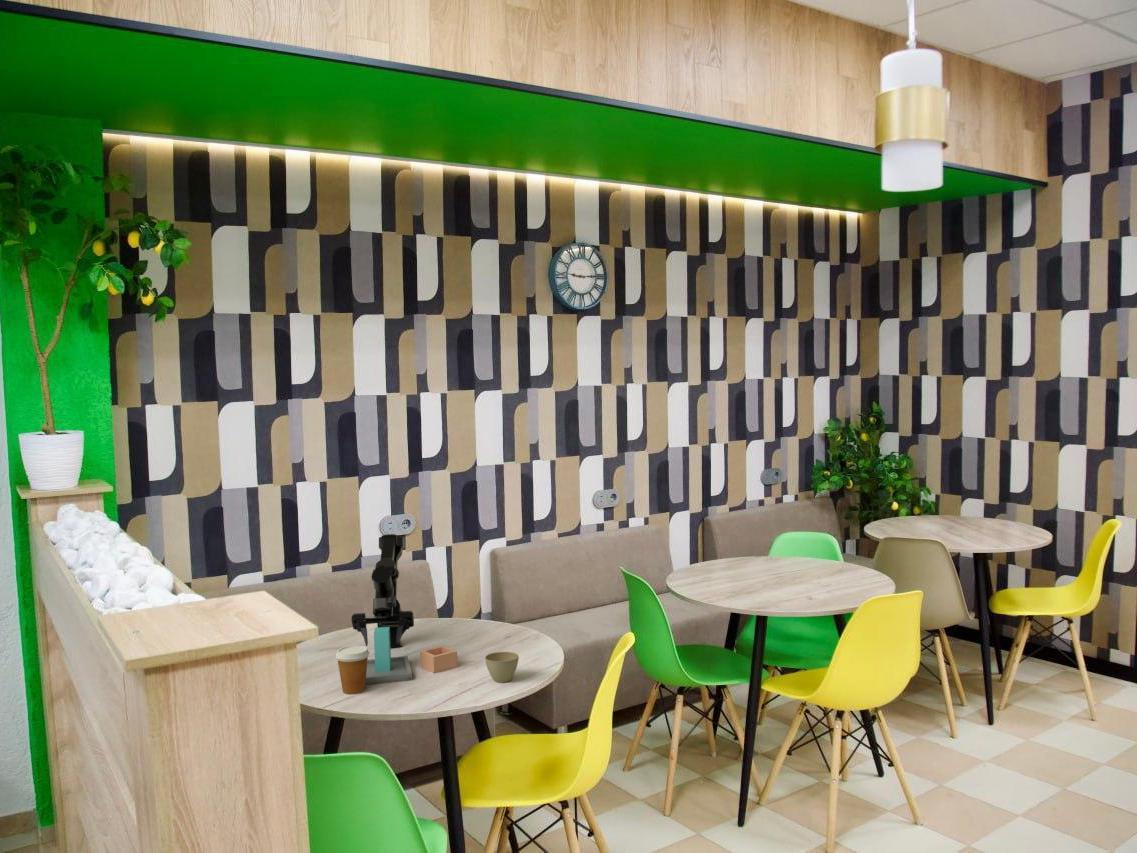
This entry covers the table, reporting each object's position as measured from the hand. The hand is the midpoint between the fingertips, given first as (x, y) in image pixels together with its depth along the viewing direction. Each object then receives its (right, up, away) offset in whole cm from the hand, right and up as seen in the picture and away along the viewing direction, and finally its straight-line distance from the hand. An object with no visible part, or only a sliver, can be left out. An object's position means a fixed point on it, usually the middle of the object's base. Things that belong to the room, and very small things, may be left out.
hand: (381, 644), depth 279 cm
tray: (0, -9, +1) cm, 9 cm away
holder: (+17, -8, +6) cm, 19 cm away
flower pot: (+37, -9, -7) cm, 39 cm away
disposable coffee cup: (-5, -10, -14) cm, 18 cm away
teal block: (0, -8, +2) cm, 8 cm away
